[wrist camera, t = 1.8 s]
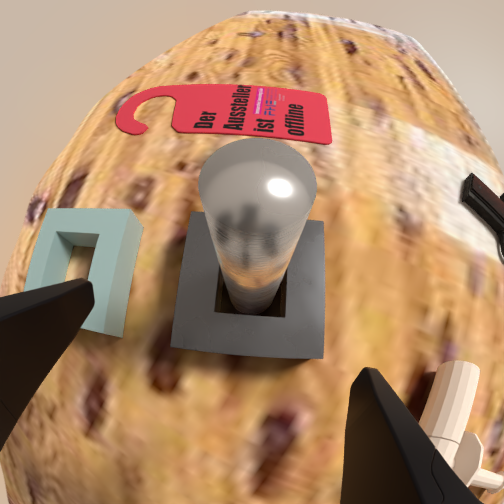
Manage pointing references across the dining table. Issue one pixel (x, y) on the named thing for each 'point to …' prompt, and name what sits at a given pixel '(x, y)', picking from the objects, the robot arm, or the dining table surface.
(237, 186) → the steel pin
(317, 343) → the socket block
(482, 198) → the handgun
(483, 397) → the dining table surface
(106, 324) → the block
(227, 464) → the dining table surface
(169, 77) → the dining table surface
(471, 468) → the toilet paper hanger
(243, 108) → the door hanger
